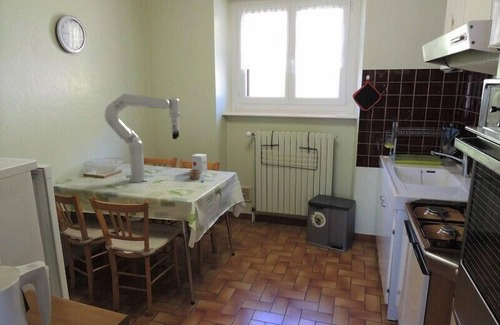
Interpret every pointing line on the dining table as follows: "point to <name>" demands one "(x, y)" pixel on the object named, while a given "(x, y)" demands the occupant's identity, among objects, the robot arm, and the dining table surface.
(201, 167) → the supplement box
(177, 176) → the post board
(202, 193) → the dining table surface
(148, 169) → the dining table surface
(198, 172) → the collar
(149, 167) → the dining table surface
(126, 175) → the robot arm
